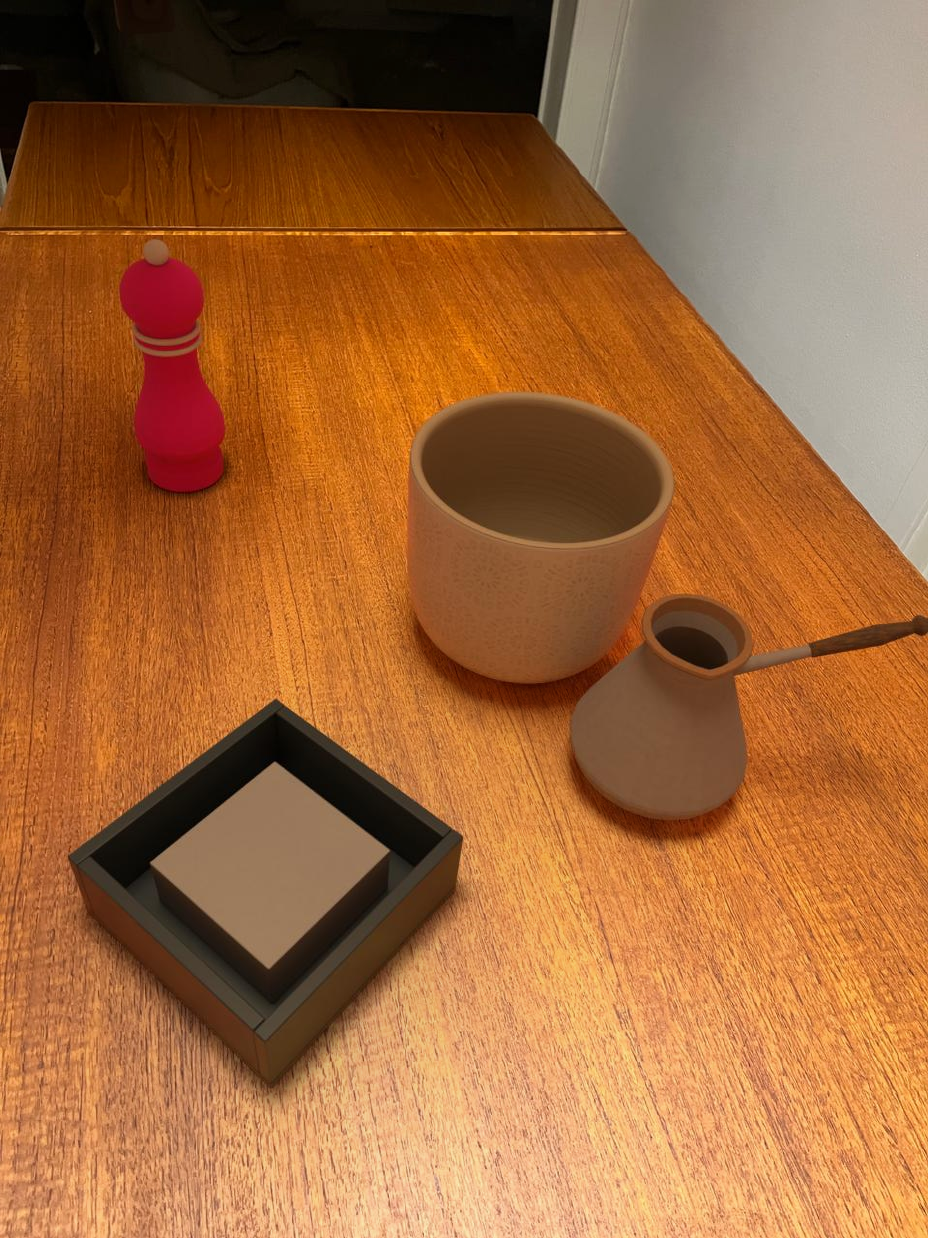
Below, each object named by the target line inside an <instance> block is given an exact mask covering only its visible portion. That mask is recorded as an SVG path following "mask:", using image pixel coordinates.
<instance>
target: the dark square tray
mask: <svg viewBox="0 0 928 1238" xmlns="http://www.w3.org/2000/svg"><path fill="white" fill-rule="evenodd" d="M274 762H276V763H278V764H279V765H280V766H282V767H283V768H284V769H285V770H287V771H288V772H289V773H291V774H292V775H293V776H294V777H296V778H297V779H298V780H300V781H301V782H302V783H304V784H305V785H306V786H307V787H309V788H310V789H311V790H313V791H314V792H315V793H317V794H318V795H319V796H320V797H322V798H323V799H324V800H326V801H327V802H328V803H329V804H331V805H332V806H333V807H335V808H336V809H337V810H339V811H340V812H341V813H342V814H344V815H345V816H346V817H348V818H349V819H350V820H352V821H353V822H354V823H355V824H357V825H358V826H359V827H361V828H362V829H363V830H364V831H366V832H367V833H368V834H370V835H371V836H372V837H374V838H375V839H376V840H377V841H379V842H380V843H381V844H383V845H384V846H385V847H387V848H388V849H389V850H390V862H389V878H388V888H387V889H386V890H385V891H384V892H383V893H382V894H381V896H380V897H379V898H378V899H377V900H376V901H375V902H374V903H373V904H372V905H371V906H370V907H369V908H368V909H367V910H366V911H365V912H364V913H363V914H362V915H361V916H360V917H359V918H358V919H357V920H356V921H355V922H354V923H353V924H352V925H351V926H350V927H349V928H348V929H347V930H346V931H345V932H344V933H343V934H342V935H341V936H340V937H339V938H338V939H337V940H336V941H335V942H334V943H333V944H332V945H331V946H330V947H329V948H328V949H327V950H326V951H325V952H324V953H323V954H322V955H321V956H320V957H319V958H318V959H317V960H316V961H315V962H314V963H313V964H312V965H311V966H310V967H309V968H308V969H307V970H306V971H305V972H304V973H303V974H302V975H301V976H300V977H299V978H298V979H297V980H296V981H295V982H294V983H293V984H292V985H291V987H290V988H289V989H288V990H287V991H286V992H285V993H284V994H283V995H282V996H281V997H280V998H279V999H278V1000H277V1001H276V1002H275V1003H274V1004H272V1003H271V1002H269V1001H268V1000H267V999H266V998H265V997H264V996H263V995H262V994H261V993H260V992H259V991H257V990H256V989H255V988H254V987H253V986H252V985H251V984H250V983H249V982H248V981H246V980H245V979H244V978H243V977H242V976H241V975H240V974H239V973H238V972H237V971H236V970H234V969H233V968H232V967H231V966H230V965H229V964H228V963H227V962H226V961H225V960H224V959H222V958H221V957H220V956H219V955H218V954H217V953H216V952H215V951H214V950H213V949H212V948H210V947H209V946H208V945H207V944H206V943H205V942H204V941H203V940H202V939H201V938H199V937H198V936H197V935H196V934H195V933H194V932H193V931H192V930H191V929H190V928H189V927H187V926H186V925H185V924H184V923H183V922H182V921H181V920H180V919H179V918H178V917H177V916H175V915H174V914H173V913H172V912H171V911H170V910H169V909H168V908H167V907H166V906H164V905H163V904H162V903H161V902H160V900H159V896H158V892H157V888H156V885H155V881H154V877H153V873H152V869H151V865H150V862H151V861H153V860H154V859H155V858H156V857H158V856H159V855H160V854H161V853H162V852H164V851H165V850H166V849H167V848H169V847H170V846H171V845H172V844H174V843H175V842H176V841H177V840H178V839H180V838H181V837H182V836H183V835H185V834H186V833H187V832H188V831H190V830H191V829H192V828H193V827H195V826H196V825H197V824H198V823H199V822H201V821H202V820H203V819H204V818H206V817H207V816H208V815H209V814H211V813H212V812H213V811H214V810H216V809H217V808H218V807H219V806H220V805H222V804H223V803H224V802H225V801H227V800H228V799H229V798H230V797H232V796H233V795H234V794H235V793H237V792H238V791H239V790H240V789H241V788H243V787H244V786H245V785H246V784H248V783H249V782H250V781H251V780H253V779H254V778H255V777H256V776H258V775H259V774H260V773H261V772H262V771H264V770H265V769H266V768H267V767H269V766H270V765H271V764H272V763H274ZM463 842H464V836H463V835H462V834H461V833H460V832H458V831H457V830H455V829H454V828H453V827H451V826H450V825H449V824H447V823H446V822H444V821H443V820H442V819H440V818H439V817H437V816H436V815H435V814H433V812H431V811H429V809H427V808H425V807H424V806H423V805H421V803H419V802H417V801H416V800H415V799H413V798H412V797H410V796H409V795H408V794H406V793H405V792H404V791H403V790H400V789H399V788H398V787H397V786H396V785H394V784H393V783H392V782H390V781H389V780H387V779H386V778H385V777H383V776H381V775H380V774H379V773H378V772H376V771H375V770H374V769H372V768H371V767H369V766H368V764H365V763H364V762H363V761H362V760H360V759H359V758H357V757H356V756H355V755H353V754H352V753H350V752H349V751H348V750H347V749H345V748H344V747H342V746H341V745H340V744H338V743H337V742H336V741H334V740H333V739H331V738H330V737H329V736H327V735H326V734H325V733H323V732H322V731H321V730H319V729H318V728H317V727H315V726H314V725H313V724H311V723H310V722H308V721H307V720H306V719H304V718H303V717H301V716H300V715H299V714H297V713H296V712H294V710H292V709H291V708H289V707H288V706H287V705H285V704H284V703H282V702H281V701H280V700H279V699H277V698H274V699H273V700H272V701H270V702H269V703H267V704H266V705H265V706H263V707H262V708H261V709H260V710H258V711H257V712H256V713H255V714H253V715H252V716H250V717H249V718H248V719H246V720H245V721H244V722H242V723H241V724H240V725H238V726H237V727H236V728H234V729H233V730H232V731H231V732H229V733H228V734H226V736H224V737H223V738H221V739H220V740H219V741H217V742H216V743H215V744H213V745H212V746H211V747H210V748H208V749H207V750H205V751H204V752H203V753H202V754H200V755H198V757H196V758H195V759H194V760H193V761H190V763H188V764H187V765H186V766H185V767H183V768H182V769H180V770H179V771H178V772H177V773H175V774H173V775H172V776H171V777H170V778H168V779H167V780H166V781H164V783H162V784H161V785H159V786H158V787H157V788H156V789H154V790H152V792H150V793H149V794H148V795H146V796H145V797H144V798H142V799H140V801H139V802H137V803H136V804H134V805H133V806H131V808H129V809H128V810H127V811H125V812H124V813H122V814H121V815H120V816H118V817H117V818H116V819H115V820H113V821H112V822H111V823H109V824H107V826H105V827H104V828H103V829H102V830H100V831H99V832H97V833H96V834H95V835H93V836H92V837H91V838H90V839H87V841H86V842H84V843H83V844H82V845H80V846H78V848H76V849H75V850H74V851H72V852H71V853H70V854H69V855H67V860H68V862H69V865H70V867H71V870H72V873H73V876H74V878H75V882H76V884H77V887H78V890H79V892H80V895H81V898H82V900H83V903H84V906H85V909H86V912H87V913H88V914H89V915H90V916H92V918H94V919H95V920H96V922H98V923H99V924H100V925H101V926H102V927H103V928H104V929H105V930H106V931H107V932H108V933H109V934H110V935H111V936H113V938H115V940H117V942H119V943H120V944H121V945H122V946H123V948H125V949H126V950H127V951H128V952H129V953H130V954H131V955H132V956H133V957H134V958H135V959H136V960H137V961H138V962H139V963H140V964H141V965H142V966H144V967H145V968H146V969H147V970H148V972H150V973H151V974H152V976H154V977H155V978H156V979H157V980H158V981H159V982H160V983H161V984H162V985H163V986H164V987H165V988H166V989H168V991H170V992H171V994H173V996H175V997H176V999H178V1000H179V1002H181V1003H182V1005H184V1006H185V1007H186V1008H187V1009H188V1010H189V1011H190V1012H191V1013H192V1014H193V1015H194V1016H196V1018H198V1020H199V1021H200V1022H202V1023H203V1024H204V1025H205V1026H206V1027H207V1028H208V1029H209V1030H210V1031H211V1032H212V1033H213V1034H214V1035H215V1036H216V1037H217V1038H218V1039H219V1040H220V1041H221V1042H222V1043H223V1044H224V1045H225V1046H227V1048H228V1049H230V1051H231V1052H233V1053H234V1054H235V1055H236V1056H237V1057H238V1058H239V1059H240V1060H241V1061H242V1062H243V1063H244V1064H245V1065H246V1066H247V1067H248V1068H249V1069H250V1070H251V1071H252V1072H253V1073H254V1074H255V1075H257V1076H258V1077H259V1078H260V1079H261V1080H262V1082H264V1083H265V1084H266V1085H267V1086H268V1087H269V1088H271V1089H272V1088H274V1086H276V1084H277V1083H278V1082H279V1081H280V1080H281V1079H282V1078H283V1077H284V1075H286V1074H287V1072H288V1071H289V1070H290V1069H291V1068H292V1067H293V1066H294V1065H295V1063H297V1062H298V1060H299V1059H300V1058H301V1057H302V1056H303V1055H304V1054H305V1053H306V1052H307V1051H308V1050H309V1049H310V1047H312V1045H313V1044H314V1043H315V1042H316V1041H317V1040H318V1039H319V1038H320V1037H321V1035H322V1034H323V1033H324V1032H325V1031H326V1030H327V1029H328V1028H329V1027H330V1026H331V1025H332V1024H333V1022H335V1020H336V1019H337V1018H338V1017H340V1015H341V1014H342V1013H343V1012H344V1011H345V1009H347V1008H348V1006H350V1005H351V1003H352V1002H353V1001H354V1000H355V999H356V998H357V996H359V995H360V993H361V992H362V991H363V990H364V989H365V988H366V987H367V986H368V985H369V983H371V982H372V981H373V980H374V978H376V976H377V975H378V974H379V973H380V972H381V971H382V970H383V969H384V968H385V967H386V965H387V964H388V963H389V962H390V961H391V960H392V959H393V958H394V957H395V956H396V955H397V954H398V952H400V950H401V949H402V948H403V947H404V946H405V945H406V944H407V943H408V941H410V940H411V938H413V936H414V935H415V934H416V933H417V932H418V931H419V930H420V929H421V927H423V925H425V923H426V922H427V921H428V920H429V919H430V918H431V917H432V916H433V915H434V914H435V913H436V912H437V910H438V909H439V908H440V907H441V906H442V905H443V904H444V903H445V902H446V900H447V899H448V898H449V897H450V896H451V895H452V894H453V893H454V892H455V891H456V889H457V881H458V875H459V873H458V872H459V869H460V864H461V863H460V862H461V857H462V850H463Z"/></svg>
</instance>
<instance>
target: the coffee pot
mask: <svg viewBox="0 0 928 1238" xmlns="http://www.w3.org/2000/svg"><path fill="white" fill-rule="evenodd" d="M640 623H641V624H640V625H641V635H642V636H643V639H644V640H643V641H642V642H641V643H640V644H639V645H638V646H637V647H635V648H634V649H633V650H632V651H631V652H630V653H628V654H627V655H626V656H625V657H624V658H622V660H621V661H619V662H618V663H617V664H615V666H614V667H612V668H611V669H610V670H609V671H607V672H606V673H605V674H604V675H603V676H601V678H599V679H598V680H597V681H596V682H595V683H594V684H593V685H591V686H590V687H589V688H588V689H587V690H586V691H585V693H584V694H582V696H581V697H580V699H578V701H577V703H576V704H575V707H574V709H573V712H572V715H571V717H570V720H569V722H570V723H569V741H570V745H571V749H572V751H573V755H574V758H575V761H576V764H577V765H578V767H579V769H580V770H581V772H582V774H583V775H584V777H585V778H586V780H587V781H588V783H589V784H590V785H591V786H592V787H593V788H594V789H595V790H596V791H597V792H598V793H599V794H601V796H602V797H604V799H606V800H608V801H610V802H611V803H612V804H614V805H616V806H618V807H619V808H621V809H623V810H624V811H627V812H630V813H633V814H635V815H639V816H641V817H644V818H647V819H653V820H654V819H655V820H663V821H670V822H671V821H678V820H679V821H680V820H690V819H691V820H692V819H693V818H696V817H699V816H702V815H705V814H707V813H710V812H712V811H714V810H716V809H718V808H720V806H722V805H724V804H725V803H726V802H727V801H729V800H730V799H731V798H733V796H735V794H736V792H737V791H738V789H739V788H740V786H741V785H742V783H743V781H744V780H745V777H746V772H747V766H748V761H749V755H748V749H747V743H746V742H747V741H746V736H745V731H744V725H743V724H744V723H743V718H742V712H741V707H740V702H739V696H738V690H737V685H736V679H735V677H736V676H741V675H744V674H749V673H752V672H756V671H760V670H763V669H768V668H773V667H776V666H779V665H785V664H789V663H793V662H796V661H800V660H804V659H807V658H820V657H824V656H830V655H835V654H842V653H847V652H854V651H859V650H865V649H871V648H876V647H882V646H884V645H887V644H889V643H892V642H894V641H895V642H896V641H897V640H900V639H903V638H905V637H908V636H911V635H913V634H915V635H917V636H920V637H924V636H926V635H927V634H928V617H926V616H923V615H921V614H917V615H916V616H913V618H912V619H911V621H909V620H908V621H898V622H890V623H889V622H888V623H876V624H872V625H869V626H865V627H862V628H858V629H854V630H851V631H848V632H847V631H846V632H844V633H841V634H837V635H833V636H829V637H825V638H822V639H819V640H815V641H812V642H808V644H804V645H799V646H794V647H790V648H784V649H779V650H773V651H770V652H764V653H760V654H755V655H752V654H753V649H754V639H753V634H752V631H751V629H750V628H749V625H748V624H747V622H746V621H745V620H744V619H743V617H741V615H740V614H739V613H738V612H736V611H735V610H734V609H733V608H731V607H730V606H728V605H726V604H725V603H722V602H721V601H718V600H716V599H715V598H711V597H708V596H705V595H702V594H695V593H688V592H687V593H672V594H668V595H666V596H665V595H664V596H662V597H660V598H658V599H657V600H655V601H653V602H651V604H650V605H649V606H648V607H647V608H646V609H645V610H644V612H643V615H642V618H641V621H640Z"/></svg>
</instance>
